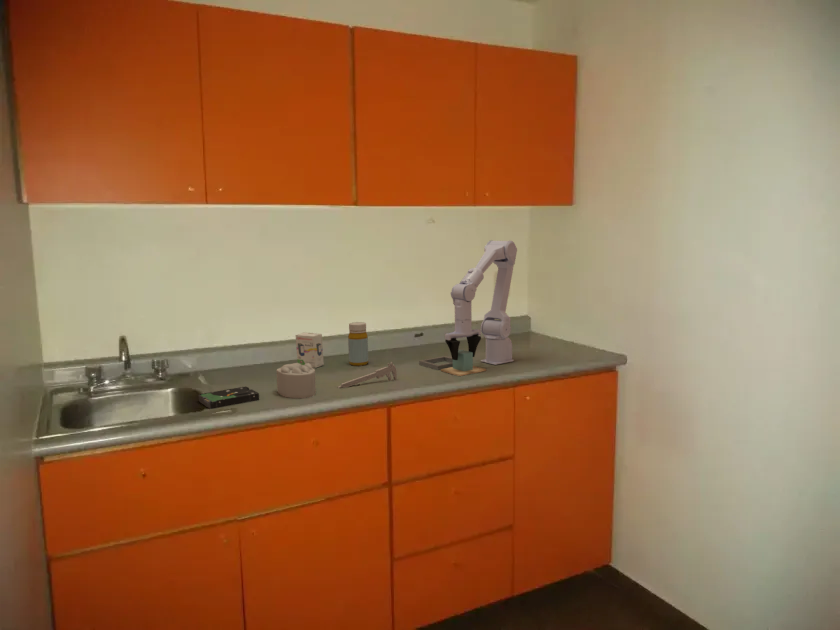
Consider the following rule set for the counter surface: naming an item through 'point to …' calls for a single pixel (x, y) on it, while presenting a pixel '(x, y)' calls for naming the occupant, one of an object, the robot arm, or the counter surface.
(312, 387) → the cup of cotton balls
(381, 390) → the counter surface
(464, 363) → the block
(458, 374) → the board
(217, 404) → the disk drive
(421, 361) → the grey flat square frame
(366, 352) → the bottle
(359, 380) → the caliper
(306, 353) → the ink box
